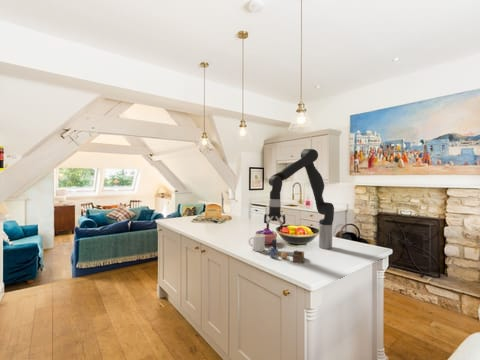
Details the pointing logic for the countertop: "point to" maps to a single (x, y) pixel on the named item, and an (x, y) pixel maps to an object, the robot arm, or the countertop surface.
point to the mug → (258, 242)
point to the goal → (298, 256)
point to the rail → (281, 252)
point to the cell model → (268, 235)
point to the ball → (283, 255)
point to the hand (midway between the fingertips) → (274, 229)
